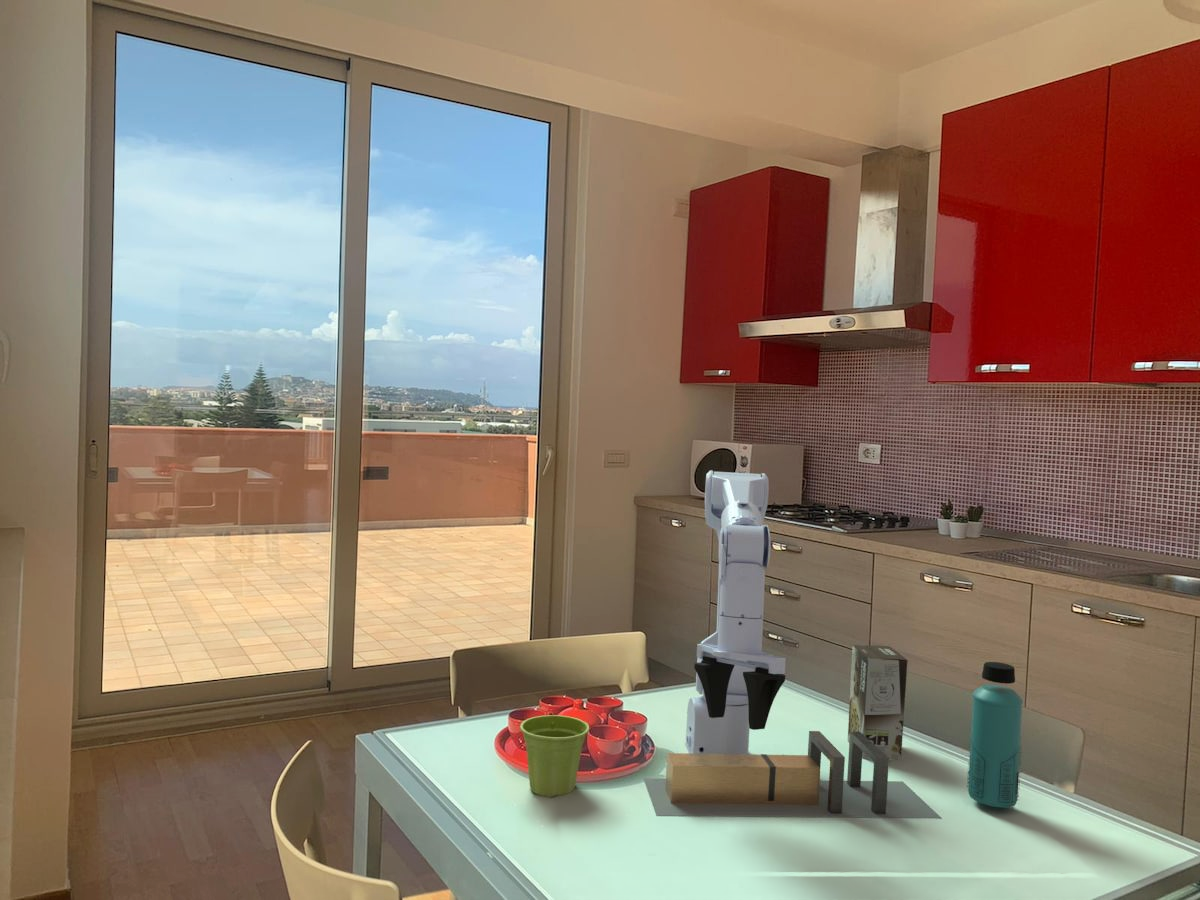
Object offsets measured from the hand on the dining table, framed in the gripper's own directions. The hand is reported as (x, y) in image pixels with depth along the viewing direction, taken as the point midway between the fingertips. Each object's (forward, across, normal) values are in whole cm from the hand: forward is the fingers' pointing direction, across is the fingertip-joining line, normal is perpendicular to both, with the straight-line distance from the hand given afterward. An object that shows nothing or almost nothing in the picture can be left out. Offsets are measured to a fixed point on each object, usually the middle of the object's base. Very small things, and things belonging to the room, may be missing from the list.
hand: (736, 722), depth 115 cm
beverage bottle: (+11, +14, +35) cm, 39 cm away
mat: (+11, -1, +11) cm, 16 cm away
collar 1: (+11, +1, +16) cm, 19 cm away
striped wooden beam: (+11, -4, +6) cm, 13 cm away
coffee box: (+8, -8, +38) cm, 40 cm away
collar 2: (+10, +4, +21) cm, 24 cm away
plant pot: (+12, -19, -15) cm, 27 cm away
